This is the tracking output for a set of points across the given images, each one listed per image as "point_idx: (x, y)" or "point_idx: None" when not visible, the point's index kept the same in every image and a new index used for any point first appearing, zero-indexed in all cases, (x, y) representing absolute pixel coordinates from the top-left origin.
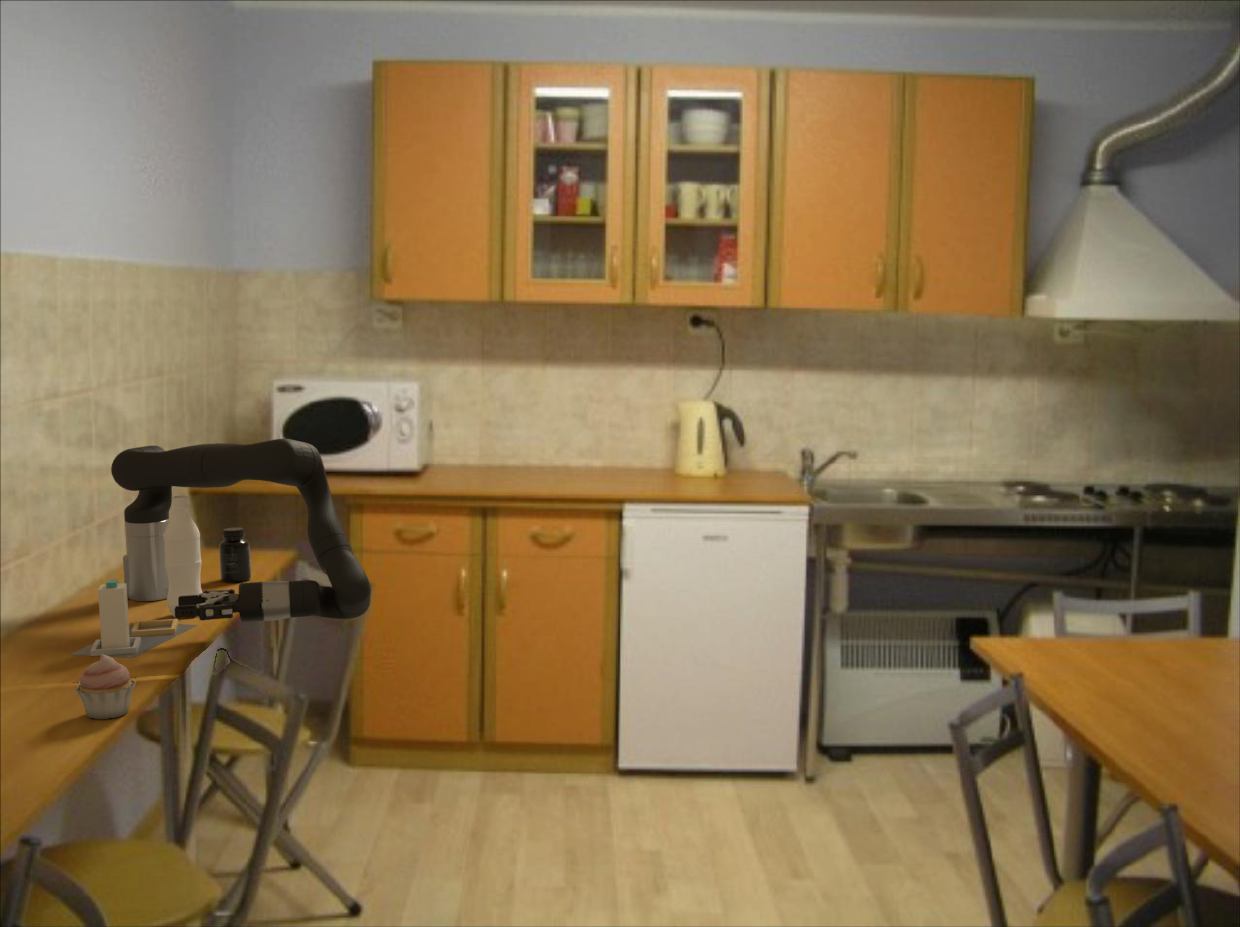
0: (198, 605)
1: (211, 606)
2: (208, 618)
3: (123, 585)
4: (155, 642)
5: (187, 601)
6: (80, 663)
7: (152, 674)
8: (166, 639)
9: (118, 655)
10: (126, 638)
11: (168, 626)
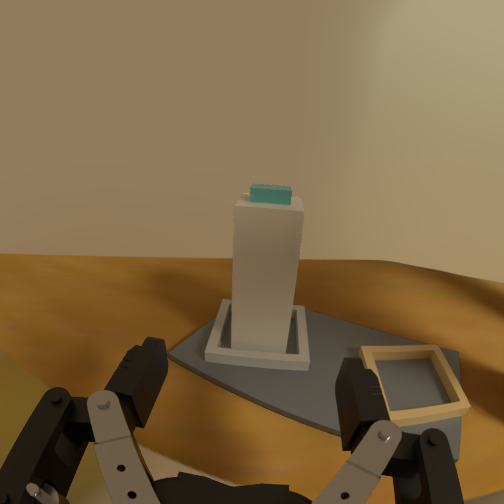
0: (94, 396)
1: (29, 427)
2: (56, 444)
3: (272, 207)
4: (292, 396)
5: (344, 397)
6: (204, 302)
7: (52, 363)
8: (317, 416)
9: (203, 336)
10: (231, 326)
11: (440, 403)
